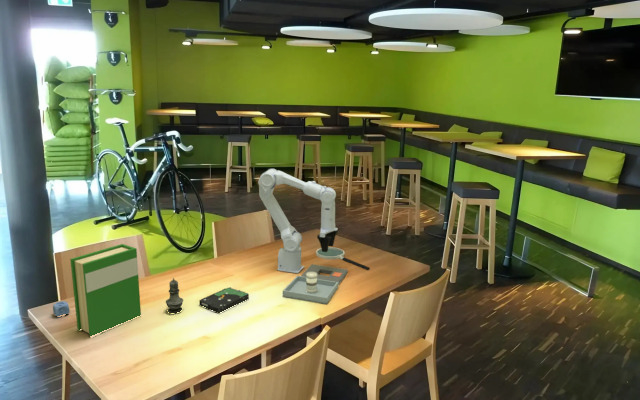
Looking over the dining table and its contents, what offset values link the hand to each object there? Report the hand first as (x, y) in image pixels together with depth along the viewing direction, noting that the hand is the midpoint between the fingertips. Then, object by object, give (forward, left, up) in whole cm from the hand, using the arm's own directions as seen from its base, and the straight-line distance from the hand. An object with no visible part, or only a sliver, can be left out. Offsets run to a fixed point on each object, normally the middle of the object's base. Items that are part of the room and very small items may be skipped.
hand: (327, 248), depth 198 cm
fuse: (0, -22, -10) cm, 24 cm away
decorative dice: (-72, -69, -11) cm, 100 cm away
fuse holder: (0, -4, -10) cm, 11 cm away
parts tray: (0, -21, -10) cm, 24 cm away
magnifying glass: (+3, +17, -11) cm, 20 cm away
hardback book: (-53, -67, -11) cm, 86 cm away
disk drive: (-26, -41, -11) cm, 50 cm away
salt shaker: (-39, -52, -11) cm, 66 cm away
